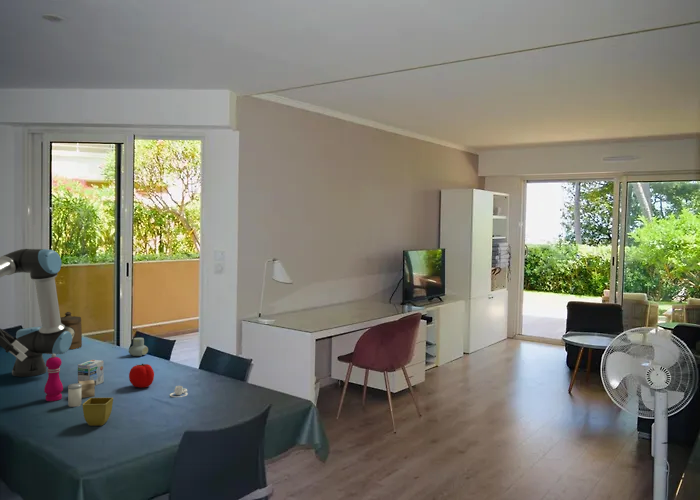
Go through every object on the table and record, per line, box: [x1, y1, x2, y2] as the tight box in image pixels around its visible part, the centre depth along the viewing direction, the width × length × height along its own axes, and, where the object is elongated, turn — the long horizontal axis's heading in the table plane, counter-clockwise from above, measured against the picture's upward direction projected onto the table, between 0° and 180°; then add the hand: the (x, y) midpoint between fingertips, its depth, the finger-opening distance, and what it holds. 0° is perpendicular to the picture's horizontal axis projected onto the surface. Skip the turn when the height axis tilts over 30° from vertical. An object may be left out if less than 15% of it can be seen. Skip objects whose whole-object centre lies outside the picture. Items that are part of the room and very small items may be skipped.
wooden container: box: [60, 311, 83, 350], centre depth 344 cm, size 15×15×22 cm
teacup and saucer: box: [169, 385, 189, 398], centre depth 254 cm, size 9×8×4 cm
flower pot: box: [81, 397, 114, 427], centre depth 215 cm, size 9×9×9 cm
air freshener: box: [128, 337, 149, 357], centre depth 327 cm, size 11×8×10 cm
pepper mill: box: [43, 354, 64, 402], centre depth 243 cm, size 7×7×20 cm
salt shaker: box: [67, 382, 82, 408], centre depth 236 cm, size 5×5×8 cm
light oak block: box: [79, 380, 96, 399], centre depth 250 cm, size 6×6×6 cm
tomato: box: [128, 363, 155, 389], centre depth 265 cm, size 12×12×11 cm
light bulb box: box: [77, 359, 105, 387], centre depth 266 cm, size 11×7×11 cm, turn 168°
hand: (25, 355), depth 238 cm, fingers open, 13 cm apart
